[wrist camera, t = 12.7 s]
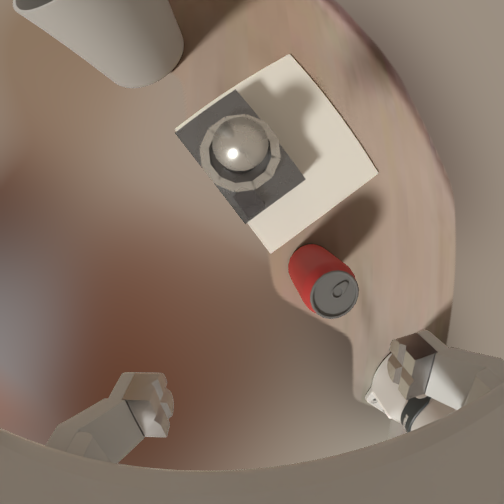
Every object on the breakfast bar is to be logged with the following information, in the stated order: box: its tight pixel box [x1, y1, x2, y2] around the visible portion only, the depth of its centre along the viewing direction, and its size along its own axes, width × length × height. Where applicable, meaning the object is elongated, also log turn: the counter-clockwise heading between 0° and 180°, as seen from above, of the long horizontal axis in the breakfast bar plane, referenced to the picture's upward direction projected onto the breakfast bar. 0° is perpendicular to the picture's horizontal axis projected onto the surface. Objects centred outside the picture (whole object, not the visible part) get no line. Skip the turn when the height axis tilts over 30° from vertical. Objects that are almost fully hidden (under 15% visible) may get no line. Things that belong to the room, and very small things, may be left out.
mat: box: [175, 54, 378, 254], centre depth 37 cm, size 22×20×1 cm
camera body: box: [175, 89, 306, 224], centre depth 33 cm, size 14×9×7 cm, turn 37°
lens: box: [212, 117, 269, 173], centre depth 28 cm, size 5×5×7 cm
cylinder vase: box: [13, 0, 184, 88], centre depth 20 cm, size 12×12×25 cm
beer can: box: [288, 244, 359, 319], centre depth 35 cm, size 7×7×12 cm
